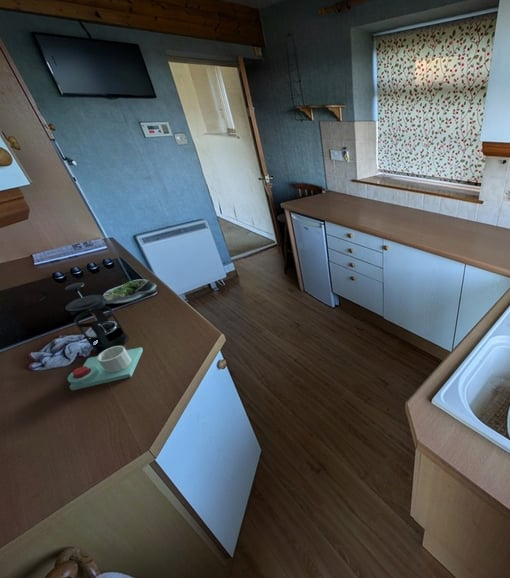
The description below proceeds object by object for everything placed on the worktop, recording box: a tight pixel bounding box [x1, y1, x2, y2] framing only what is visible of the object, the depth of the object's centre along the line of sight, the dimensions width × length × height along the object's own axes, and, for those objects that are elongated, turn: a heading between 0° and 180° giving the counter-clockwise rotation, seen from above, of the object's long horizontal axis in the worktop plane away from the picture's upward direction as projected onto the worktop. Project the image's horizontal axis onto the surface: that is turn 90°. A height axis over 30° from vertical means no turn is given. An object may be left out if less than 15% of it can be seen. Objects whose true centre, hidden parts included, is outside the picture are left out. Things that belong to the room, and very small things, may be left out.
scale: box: [66, 347, 144, 391], centre depth 88 cm, size 15×12×3 cm
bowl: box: [97, 345, 132, 372], centre depth 87 cm, size 6×6×5 cm
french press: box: [64, 282, 130, 354], centre depth 93 cm, size 12×9×23 cm
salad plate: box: [102, 278, 158, 305], centre depth 122 cm, size 19×18×5 cm
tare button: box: [71, 365, 90, 378], centre depth 83 cm, size 3×3×2 cm
